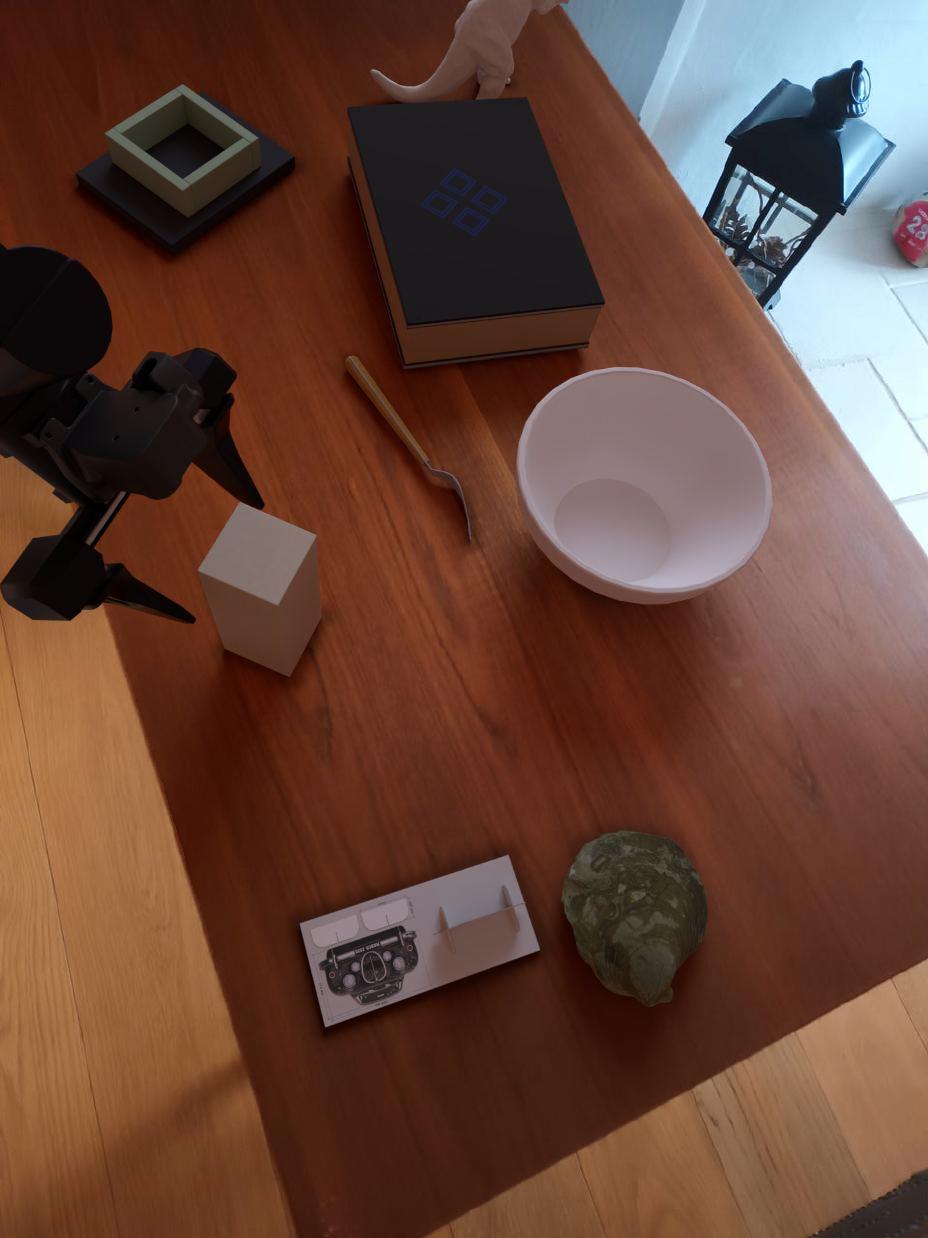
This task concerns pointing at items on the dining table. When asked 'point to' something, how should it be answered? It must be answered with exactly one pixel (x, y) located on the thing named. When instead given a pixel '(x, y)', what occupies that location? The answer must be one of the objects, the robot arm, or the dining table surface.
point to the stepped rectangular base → (183, 167)
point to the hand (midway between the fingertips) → (227, 563)
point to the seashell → (635, 912)
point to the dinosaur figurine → (475, 51)
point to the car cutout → (417, 939)
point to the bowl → (641, 485)
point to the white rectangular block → (263, 588)
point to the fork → (397, 422)
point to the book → (470, 231)
